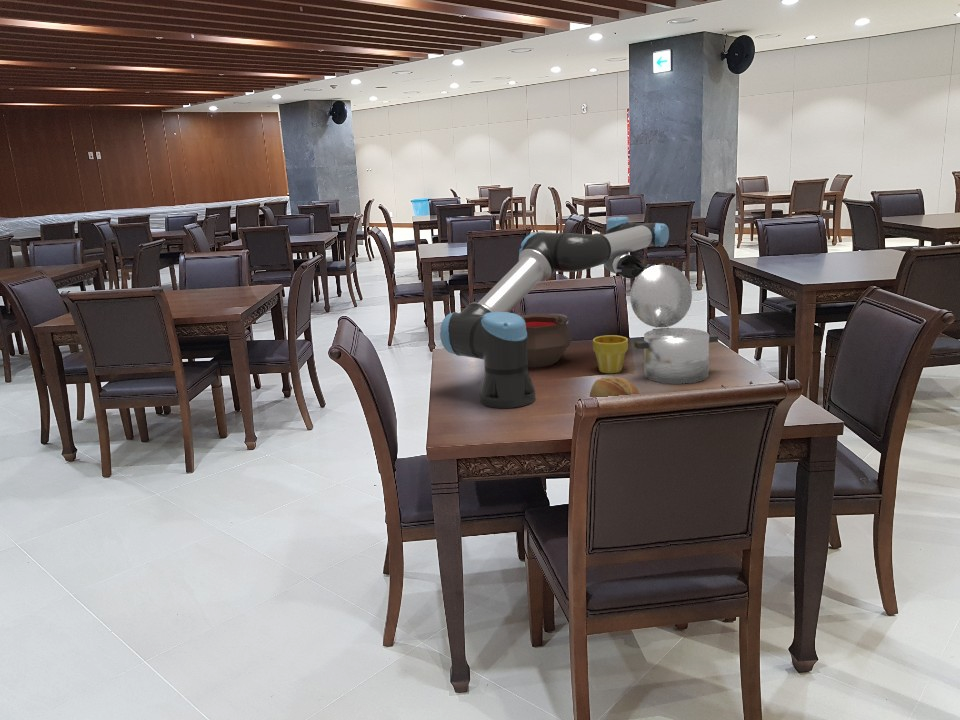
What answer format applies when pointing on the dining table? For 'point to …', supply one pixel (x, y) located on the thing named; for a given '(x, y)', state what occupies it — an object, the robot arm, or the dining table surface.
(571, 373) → the dining table surface
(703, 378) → the pressure cooker
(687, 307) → the cooker lid
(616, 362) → the plant pot
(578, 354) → the dining table surface
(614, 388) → the bread roll
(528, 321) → the brown clay bowl
